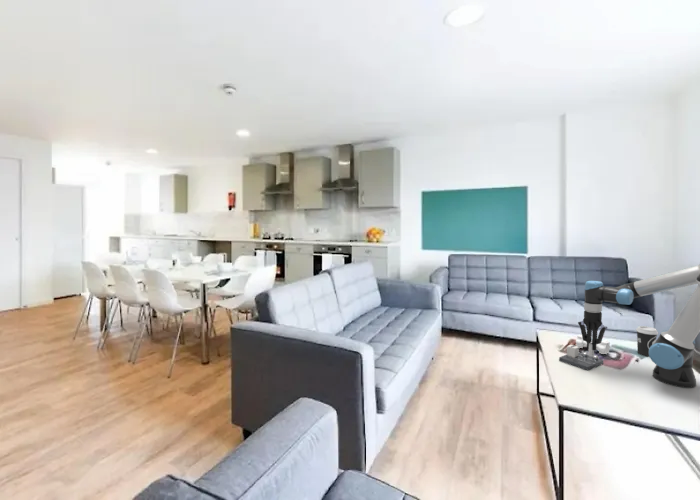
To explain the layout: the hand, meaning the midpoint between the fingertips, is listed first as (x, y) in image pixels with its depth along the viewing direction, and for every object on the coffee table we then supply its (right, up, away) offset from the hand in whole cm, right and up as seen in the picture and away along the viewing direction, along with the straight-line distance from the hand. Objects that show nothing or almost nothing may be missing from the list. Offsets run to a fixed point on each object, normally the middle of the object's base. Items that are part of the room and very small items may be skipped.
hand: (591, 355), depth 181 cm
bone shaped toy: (+14, -4, +20) cm, 25 cm away
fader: (-5, -2, +8) cm, 10 cm away
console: (-2, -5, +5) cm, 7 cm away
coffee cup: (+40, -4, +15) cm, 43 cm away
